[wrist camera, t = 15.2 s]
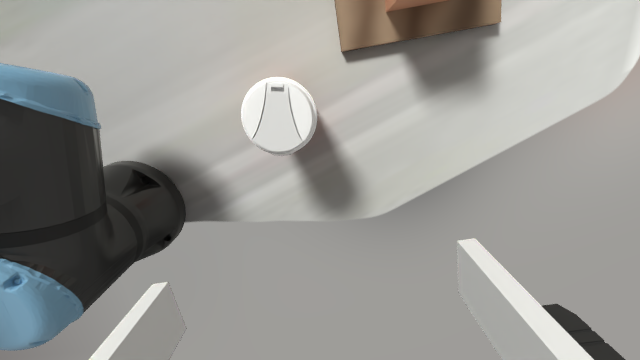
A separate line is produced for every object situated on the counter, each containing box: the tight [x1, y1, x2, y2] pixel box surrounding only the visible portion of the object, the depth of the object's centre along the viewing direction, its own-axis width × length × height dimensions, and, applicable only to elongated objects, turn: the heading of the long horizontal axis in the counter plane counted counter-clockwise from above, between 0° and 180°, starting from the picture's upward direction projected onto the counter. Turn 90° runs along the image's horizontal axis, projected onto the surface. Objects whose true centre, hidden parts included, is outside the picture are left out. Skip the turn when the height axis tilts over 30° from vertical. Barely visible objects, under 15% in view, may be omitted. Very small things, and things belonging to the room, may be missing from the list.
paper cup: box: [241, 77, 317, 156], centre depth 35 cm, size 8×8×14 cm
